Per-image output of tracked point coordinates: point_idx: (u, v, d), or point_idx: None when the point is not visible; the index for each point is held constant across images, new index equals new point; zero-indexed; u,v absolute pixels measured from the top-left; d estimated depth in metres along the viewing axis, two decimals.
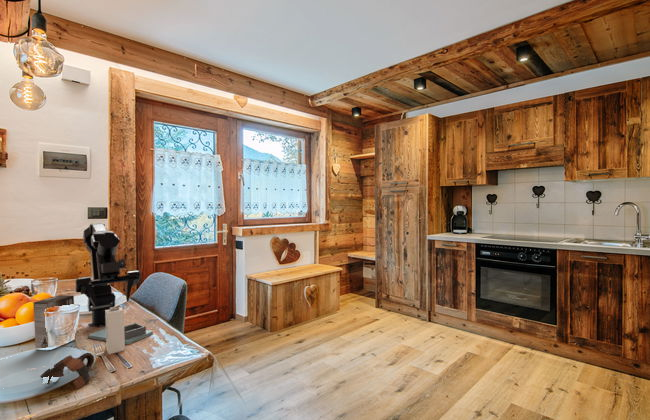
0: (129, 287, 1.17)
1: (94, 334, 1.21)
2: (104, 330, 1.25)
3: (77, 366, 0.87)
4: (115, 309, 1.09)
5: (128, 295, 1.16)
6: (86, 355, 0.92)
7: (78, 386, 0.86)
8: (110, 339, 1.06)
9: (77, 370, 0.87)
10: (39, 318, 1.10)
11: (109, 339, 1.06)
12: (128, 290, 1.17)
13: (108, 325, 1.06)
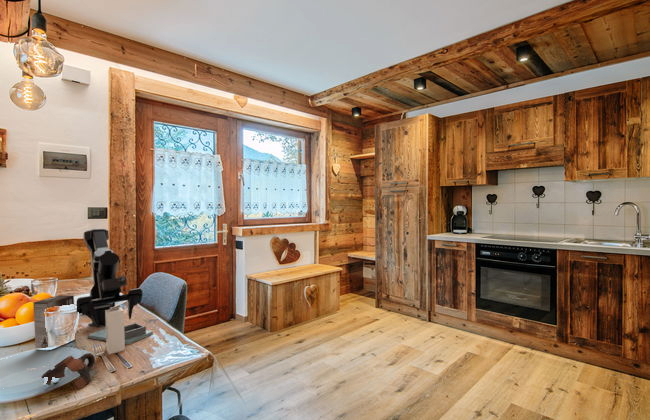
0: (131, 304, 1.15)
1: (94, 334, 1.21)
2: (104, 330, 1.25)
3: (78, 367, 0.87)
4: (115, 309, 1.09)
5: (130, 312, 1.14)
6: (87, 355, 0.92)
7: (79, 387, 0.85)
8: (110, 339, 1.06)
9: (78, 371, 0.86)
10: (39, 318, 1.10)
11: (109, 339, 1.06)
12: (130, 307, 1.14)
13: (108, 325, 1.06)
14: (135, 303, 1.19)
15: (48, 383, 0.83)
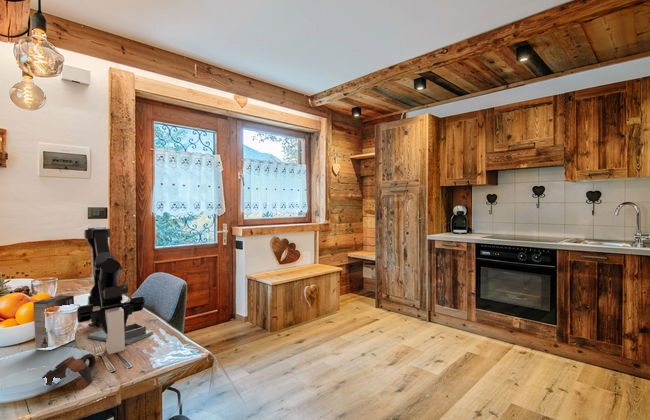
0: (125, 314, 1.12)
1: (94, 334, 1.21)
2: None
3: (79, 367, 0.87)
4: (115, 309, 1.09)
5: (124, 322, 1.10)
6: (88, 356, 0.92)
7: (80, 387, 0.85)
8: (110, 339, 1.06)
9: (79, 371, 0.86)
10: (39, 318, 1.10)
11: (109, 339, 1.06)
12: (124, 317, 1.11)
13: (108, 325, 1.06)
14: (130, 312, 1.16)
15: (49, 384, 0.82)
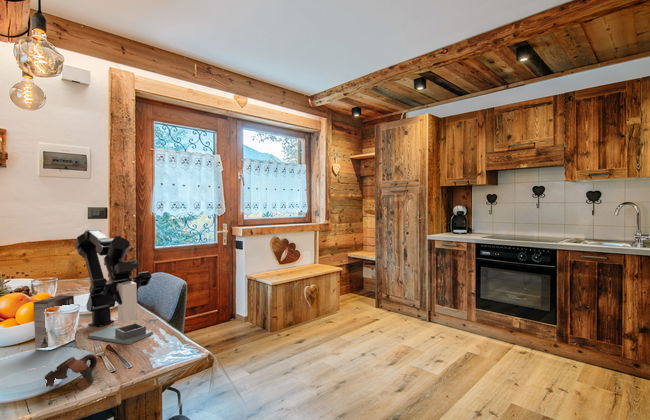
0: None
1: (94, 334, 1.21)
2: (104, 330, 1.25)
3: (81, 368, 0.86)
4: (128, 282, 1.17)
5: None
6: (89, 356, 0.91)
7: (82, 388, 0.85)
8: (124, 310, 1.15)
9: (81, 372, 0.86)
10: (39, 318, 1.10)
11: (124, 309, 1.15)
12: None
13: (123, 296, 1.15)
14: (137, 286, 1.24)
15: (50, 384, 0.82)
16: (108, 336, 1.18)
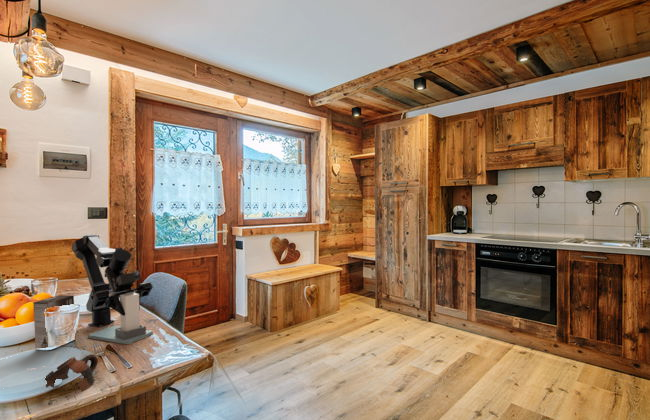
0: None
1: (94, 334, 1.21)
2: (104, 330, 1.25)
3: (81, 368, 0.86)
4: (130, 293, 1.19)
5: None
6: (90, 357, 0.91)
7: (83, 388, 0.85)
8: (127, 321, 1.17)
9: (82, 372, 0.86)
10: (39, 318, 1.10)
11: (127, 320, 1.17)
12: None
13: (126, 308, 1.17)
14: (139, 297, 1.26)
15: (51, 385, 0.82)
16: (108, 336, 1.18)
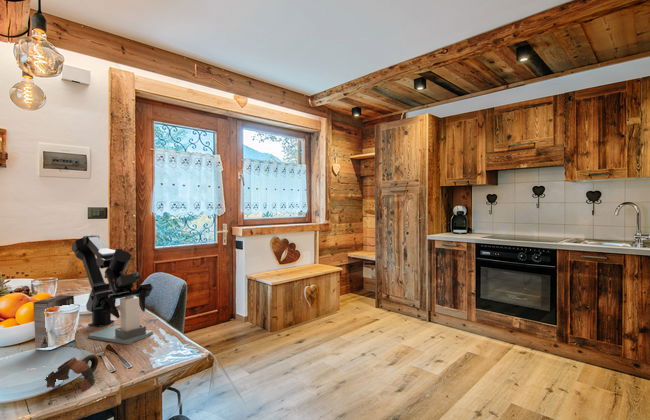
0: (143, 298, 1.24)
1: (94, 334, 1.21)
2: (104, 330, 1.25)
3: (82, 368, 0.86)
4: (130, 297, 1.19)
5: (143, 305, 1.23)
6: (90, 357, 0.91)
7: (84, 389, 0.84)
8: (128, 324, 1.17)
9: (82, 372, 0.85)
10: (39, 318, 1.10)
11: (127, 324, 1.17)
12: (143, 301, 1.23)
13: (126, 311, 1.17)
14: None
15: (52, 385, 0.82)
16: (108, 336, 1.18)
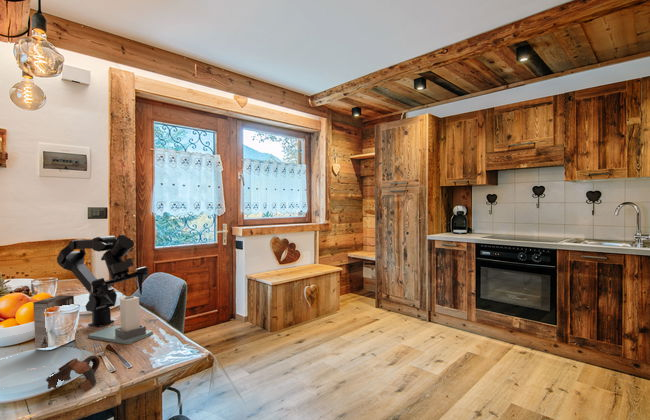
0: (140, 282, 1.29)
1: (94, 334, 1.21)
2: (104, 330, 1.25)
3: (84, 369, 0.85)
4: (130, 297, 1.19)
5: (140, 289, 1.28)
6: (92, 358, 0.91)
7: (85, 389, 0.84)
8: (128, 324, 1.17)
9: (84, 373, 0.85)
10: (39, 318, 1.10)
11: (127, 324, 1.17)
12: (139, 285, 1.29)
13: (126, 311, 1.17)
14: (143, 279, 1.33)
15: (53, 386, 0.81)
16: (108, 336, 1.18)
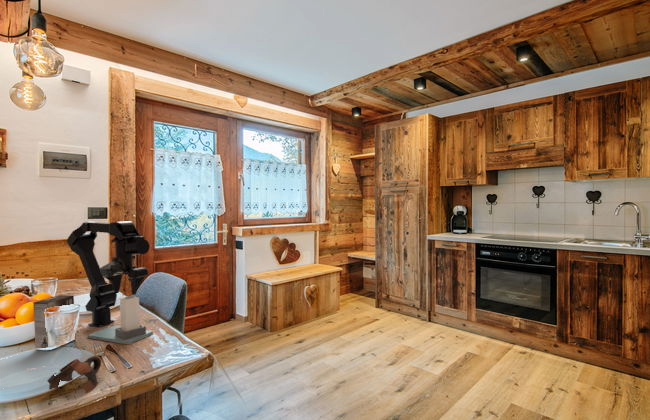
0: (132, 284, 1.27)
1: (94, 334, 1.21)
2: (104, 330, 1.25)
3: (86, 370, 0.85)
4: (130, 297, 1.19)
5: (132, 291, 1.28)
6: (93, 358, 0.90)
7: (87, 390, 0.84)
8: (128, 324, 1.17)
9: (86, 374, 0.85)
10: (39, 318, 1.10)
11: (127, 324, 1.17)
12: (131, 286, 1.27)
13: (126, 311, 1.17)
14: (142, 277, 1.29)
15: (55, 387, 0.81)
16: (108, 336, 1.18)
